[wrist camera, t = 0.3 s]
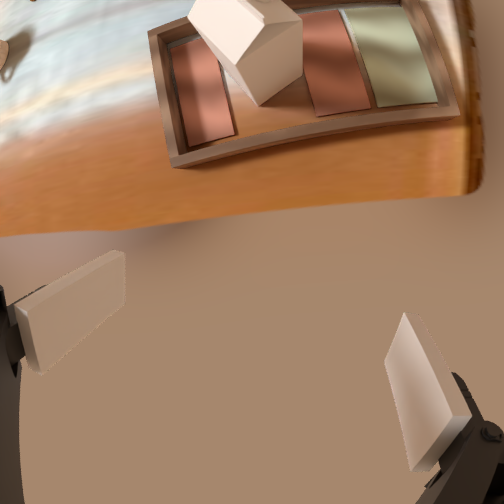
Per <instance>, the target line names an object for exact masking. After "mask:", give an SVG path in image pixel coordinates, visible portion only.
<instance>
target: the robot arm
mask: <svg viewBox="0 0 504 504" xmlns="http://www.w3.org/2000/svg"><path fill="white" fill-rule="evenodd" d="M124 304H125V253H124V252H120V251H115V250H111V251H109V252H107V253H105V254H104V255H102V256H100V257H98V258H96V259H94V260H92V261H90V262H88V263H86V264H85V265H83V266H81V267H79V268H77V269H75V270H74V271H72V272H70V273H68V274H66V275H64V276H63V277H61V278H59V279H57V280H56V281H54V282H52V283H50V284H48V285H44V286H42V287H40V288H38V289H37V290H35V291H34V292H31V293H29V294H28V296H27V295H26V296H24V297H23V298H21V299H19V300H18V301H16V302H14V303H12V304H11V305H9V306H6V301H5V296H4V289H3V287H2V286H1V285H0V504H25V503H24V496H23V488H22V478H21V468H20V452H19V451H20V450H19V400H20V382H21V370H22V367H21V362H20V359H21V358H23V357H24V356H26V360H27V363H28V366H29V368H30V369H32V370H33V371H35V372H37V373H39V374H40V375H43V374H45V372H47V371H48V370H49V369H50V368H51V367H52V366H53V365H55V363H57V362H58V361H59V360H60V359H61V358H62V357H63V356H65V355H66V354H67V353H68V352H69V351H70V350H72V349H73V348H74V347H75V346H76V345H77V344H78V343H80V342H81V341H82V340H83V339H84V338H85V337H87V336H88V335H89V334H90V333H91V332H92V331H94V330H95V329H96V328H97V327H98V326H99V325H101V324H102V323H103V322H104V321H105V320H106V319H108V318H109V317H110V316H111V315H112V314H114V313H115V312H116V311H117V310H118V309H119V308H121V307H122V306H123V305H124ZM384 363H385V367H386V370H387V374H388V378H389V381H390V385H391V388H392V392H393V396H394V400H395V404H396V408H397V412H398V416H399V421H400V425H401V429H402V434H403V438H404V443H405V447H406V452H407V457H408V462H409V467H410V472H419V471H430V470H431V468H432V467H433V466H434V465H435V464H436V463H437V461H439V465H440V468H441V469H440V470H439V471H438V472H437V474H436V475H435V476H434V477H433V478H432V479H431V480H430V481H429V482H428V483H427V484H426V485H425V487H426V490H425V491H424V493H423V494H422V495H421V497H420V498H419V500H418V501H417V502H416V504H504V433H503V431H502V430H501V429H500V427H499V426H497V425H496V424H494V423H492V422H490V421H484V419H483V417H482V415H481V413H480V411H479V409H478V407H477V405H476V403H475V401H474V399H472V396H471V393H470V392H469V391H468V388H467V386H466V384H465V382H464V380H462V378H460V377H459V376H458V375H457V374H456V373H453V372H450V369H449V368H448V366H447V364H446V362H445V360H444V358H443V357H442V355H441V353H440V351H439V349H438V347H437V345H436V344H435V342H434V340H433V338H432V337H431V335H430V333H429V331H428V330H427V328H426V326H425V324H424V323H423V321H422V319H421V318H420V316H419V315H418V314H413V313H407V312H404V313H403V316H402V319H401V321H400V324H399V327H398V329H397V332H396V334H395V337H394V339H393V342H392V344H391V347H390V349H389V351H388V354H387V356H386V358H385V361H384Z"/></svg>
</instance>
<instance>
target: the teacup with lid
mask: <svg viewBox="0 0 504 504" xmlns="http://www.w3.org/2000/svg"><path fill="white" fill-rule="evenodd" d="M8 51H9V46H8V43H7V42H6V41H3V40H0V70H1V68H2V67H3V65H4V63H5V61H6V59H7V55H8Z"/></svg>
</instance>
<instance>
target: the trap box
mask: <svg viewBox="0 0 504 504" xmlns="http://www.w3.org/2000/svg"><path fill="white" fill-rule="evenodd" d="M281 1H282V2H284V3H285V4H286V5H287V6H288V7H289V8H290V9H292V10H294V9H300V8H307V7H314V6H322V5H332V4H342V3H356V2H379V1H399V3H400V5H401V7H371V8H353V9H345V10H344V11H345V13H346V16H347V18H348V21H349V23H350V26H351V28H352V31H353V34H354V36H355V39H356V42H357V44H358V47H359V50H360V53H361V56H362V58H363V61H364V64H365V67H366V70H367V73H368V77H369V80H370V83H371V86H372V90H373V93H374V96H375V100H376V103H377V107H378V108H381V107H390V106H399V105H409V104H421V103H435V102H437V104H438V107H431V108H419V109H408V110H398V111H389V112H381V113H373V114H365V115H358V116H351V117H345V118H339V119H332V120H327V121H321V122H315V123H310V124H305V125H299V126H294V127H289V128H285V129H280V130H275V131H271V132H266V133H262V134H257V135H253V136H249V137H245V138H241V139H237V140H233V141H229V142H225V143H221V144H217V145H214V146H210V147H206V148H203V149H199V150H196V151H192V152H189V153H187V148H186V143H185V138H184V134H183V129H182V124H181V119H180V114H179V109H178V104H177V99H176V93H175V88H174V83H173V77H172V72H171V66H170V61H169V55H168V49H167V44H168V43H170V42H173V41H176V40H179V39H181V38H184V37H187V36H190V35H193V34H196V33H198V31H197V30H196V29H195V27H194V26H193V25H192V23H191V22H190V21H189V19H188V18H187V16H186V17H183V18H180V19H178V20H175V21H172V22H170V23H167V24H164V25H162V26H159V27H157V28H154V29H152V30H150V31H148V39H149V45H150V52H151V59H152V65H153V71H154V77H155V83H156V89H157V95H158V101H159V106H160V112H161V117H162V122H163V128H164V133H165V138H166V143H167V148H168V153H169V158H170V163H171V167H172V168H177V169H184V168H187V167H191V166H194V165H198V164H202V163H205V162H209V161H213V160H217V159H220V158H224V157H228V156H232V155H236V154H240V153H245V152H249V151H253V150H257V149H262V148H266V147H271V146H275V145H280V144H285V143H289V142H294V141H299V140H304V139H310V138H315V137H320V136H326V135H332V134H337V133H343V132H350V131H356V130H363V129H370V128H377V127H384V126H392V125H400V124H409V123H419V122H429V121H440V120H450V119H452V118H455V117H457V116H460V111H459V107H458V104H457V100H456V97H455V93H454V90H453V87H452V84H451V81H450V78H449V75H448V72H447V69H446V66H445V63H444V60H443V58H442V55H441V52H440V50H439V47H438V45H437V42H436V40H435V37H434V35H433V33H432V30H431V28H430V26H429V23H428V21H427V19H426V17H425V15H424V12H423V10H422V8H421V6H420V4H419V2H418V0H281ZM298 16H299V17H300V18H301V19H302V22H303V70H304V73H305V76H306V80H307V83H308V87H309V90H310V94H311V98H312V101H313V105H314V109H315V113H316V117H320V116H326V115H332V114H338V113H344V112H351V111H358V110H365V109H371V106H370V102H369V99H368V95H367V92H366V89H365V85H364V82H363V79H362V76H361V72H360V69H359V66H358V63H357V60H356V57H355V54H354V51H353V49H352V46H351V43H350V40H349V38H348V35H347V32H346V30H345V27H344V24H343V22H342V19H341V17H340V14H339V12H338V10H331V11H322V12H314V13H307V14H301V15H298ZM170 52H171V57H172V63H173V68H174V74H175V79H176V84H177V89H178V95H179V100H180V105H181V110H182V115H183V120H184V125H185V130H186V135H187V139H188V144H189V147H192V146H196V145H199V144H203V143H206V142H210V141H213V140H217V139H221V138H225V137H228V136H232V135H235V133H234V128H233V124H232V119H231V115H230V111H229V106H228V102H227V98H226V93H225V89H224V85H223V80H222V76H221V72H220V67H219V63H218V59H217V57H216V56H215V55H214V53H213V52H212V50H211V49H210V48H209V46H208V45H207V44H206V42H205V41H204V39H203V38H200V39H197V40H194V41H191V42H188V43H185V44H182V45H179V46H176V47H174V48H171V49H170Z"/></svg>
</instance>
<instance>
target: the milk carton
mask: <svg viewBox="0 0 504 504" xmlns="http://www.w3.org/2000/svg"><path fill="white" fill-rule="evenodd" d="M187 18H188V19H189V21H190V22H191V23H192V25H193V26H194V27H195V29H196V30H197V31H198V33H199V34H200V35H201V37H202V38H203V39H204V41H205V42H206V44H207V45H208V46H209V48H210V49H211V50H212V52H213V53H214V55H215V56H216V57H217V59H218V60H219V62H220V63H221V65H222V66H223V67H224V69H225V70H226V71H227V73H228V74H229V75H230V76H231V77H232V78H233V79H234V80H235V81H236V82H237V84H238V85H239V86H240V87H241V88H242V89H243V90H244V91H245V93H246V94H247V95H248V96H249V97H250V98H251V99H252V100H253V102H254V103H255V104H256V105H257V106H260V105H261V104H262V103H264V102H265V101H267V100H268V99H269V98H271V97H272V96H273V95H275V94H276V93H278V92H279V91H280V90H282V89H283V88H285V87H286V86H287V85H289V84H290V83H292V82H293V81H295V80H296V79H297V78H299V77H300V76H302V68H303V22H302V19H301V18H300V17H299V16H298V15H297V14H296V13H295V12H294V11H293V10H292V9H290V8H289V7H288V6H287V5H286V4H285V3H284V2H282V1H281V0H196V2H195V3H194V5H193V7H192V9H191V11H190V12H189V14H188V16H187Z"/></svg>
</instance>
